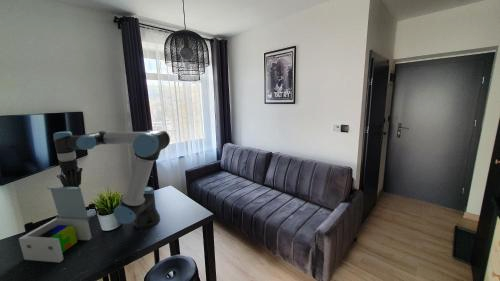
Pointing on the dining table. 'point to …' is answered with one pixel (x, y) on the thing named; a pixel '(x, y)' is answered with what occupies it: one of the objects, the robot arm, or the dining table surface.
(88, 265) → the dining table surface
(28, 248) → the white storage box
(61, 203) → the lid
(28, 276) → the dining table surface
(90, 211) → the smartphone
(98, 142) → the robot arm
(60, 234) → the puzzle toy
